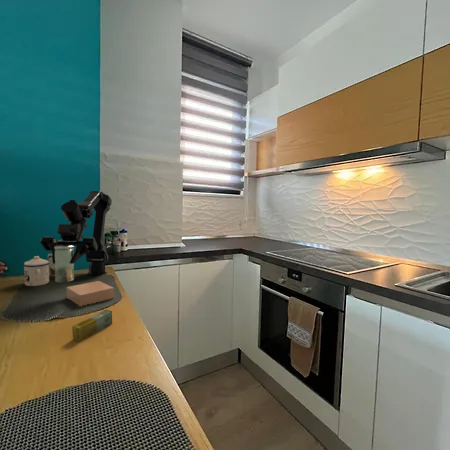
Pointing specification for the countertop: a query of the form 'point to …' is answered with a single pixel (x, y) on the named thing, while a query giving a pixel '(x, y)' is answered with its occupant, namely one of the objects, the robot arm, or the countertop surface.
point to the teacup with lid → (36, 272)
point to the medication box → (91, 325)
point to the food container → (51, 265)
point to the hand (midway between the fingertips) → (62, 263)
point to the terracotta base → (90, 293)
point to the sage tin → (64, 263)
